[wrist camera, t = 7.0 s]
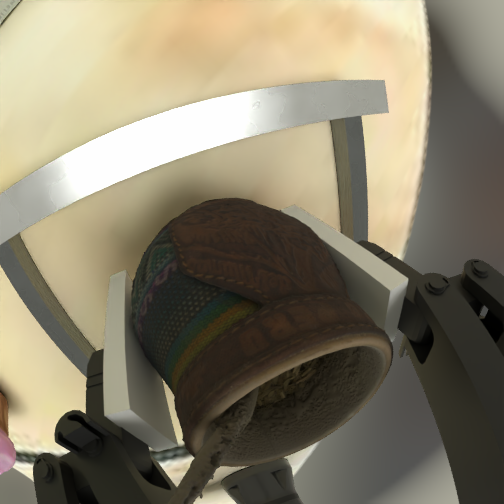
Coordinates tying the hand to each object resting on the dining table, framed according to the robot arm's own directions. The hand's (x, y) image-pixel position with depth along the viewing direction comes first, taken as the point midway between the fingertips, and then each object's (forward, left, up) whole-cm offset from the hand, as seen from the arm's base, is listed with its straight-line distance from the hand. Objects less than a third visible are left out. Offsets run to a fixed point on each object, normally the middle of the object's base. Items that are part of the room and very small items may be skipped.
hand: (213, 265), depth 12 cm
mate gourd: (0, 0, 0) cm, 0 cm away
